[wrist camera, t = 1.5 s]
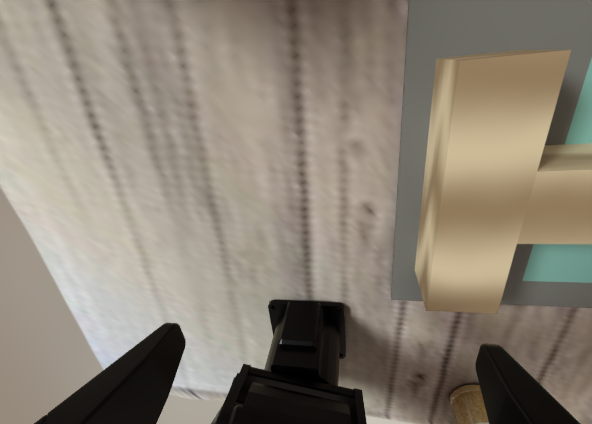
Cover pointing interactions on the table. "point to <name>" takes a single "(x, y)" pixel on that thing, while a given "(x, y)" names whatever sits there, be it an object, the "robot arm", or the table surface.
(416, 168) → the push mat
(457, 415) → the sprinkles bottle
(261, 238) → the table surface
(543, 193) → the t block
